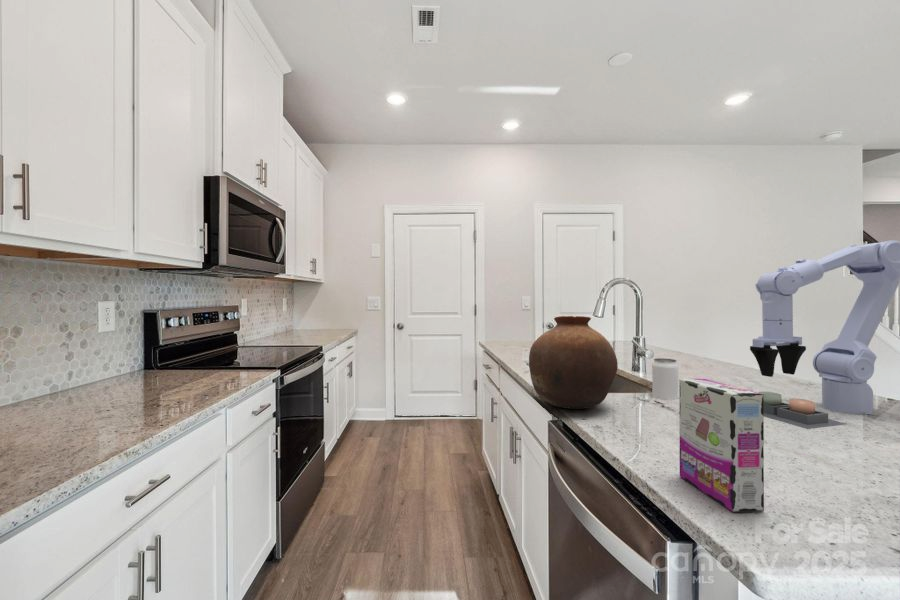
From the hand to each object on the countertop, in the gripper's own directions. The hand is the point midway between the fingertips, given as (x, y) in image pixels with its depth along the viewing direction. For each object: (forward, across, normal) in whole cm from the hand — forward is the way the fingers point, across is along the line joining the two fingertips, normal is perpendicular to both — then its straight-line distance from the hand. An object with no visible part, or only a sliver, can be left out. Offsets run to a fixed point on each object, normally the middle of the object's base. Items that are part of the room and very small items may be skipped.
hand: (778, 374), depth 94 cm
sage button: (+7, +2, 0) cm, 7 cm away
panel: (+10, +2, 0) cm, 11 cm away
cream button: (+7, +2, -7) cm, 10 cm away
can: (+10, +15, -19) cm, 27 cm away
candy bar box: (+10, +50, +23) cm, 56 cm away
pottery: (+10, +43, -24) cm, 50 cm away
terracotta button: (+7, +3, +7) cm, 10 cm away
